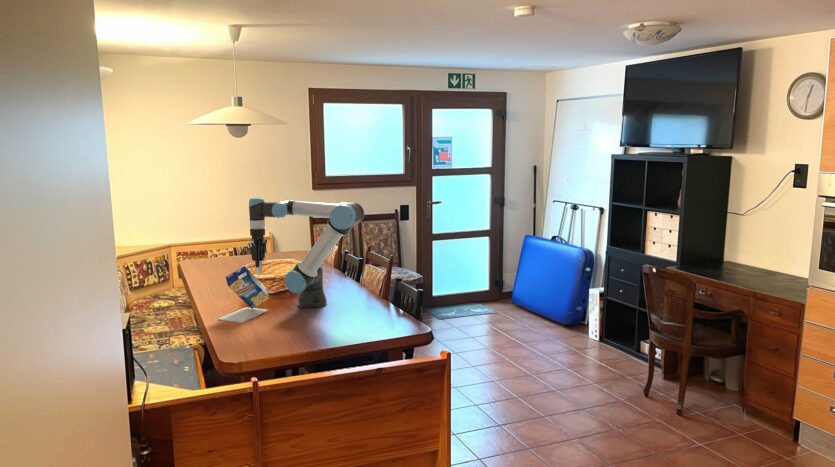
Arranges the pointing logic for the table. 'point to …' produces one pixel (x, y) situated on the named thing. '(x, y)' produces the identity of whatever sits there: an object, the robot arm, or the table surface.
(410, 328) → the table surface
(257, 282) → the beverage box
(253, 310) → the board
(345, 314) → the table surface
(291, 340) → the table surface
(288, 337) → the table surface
